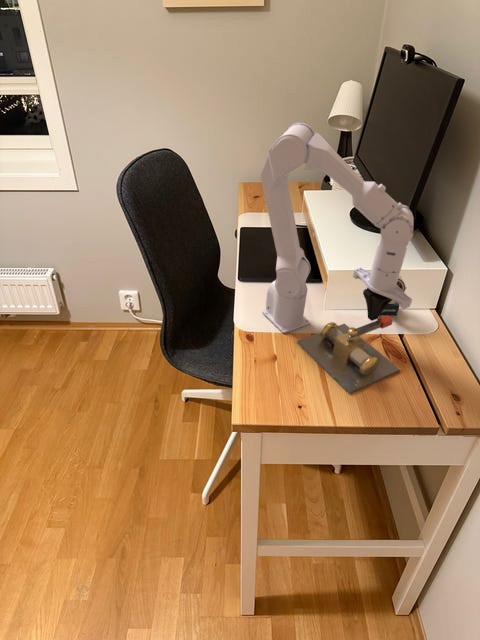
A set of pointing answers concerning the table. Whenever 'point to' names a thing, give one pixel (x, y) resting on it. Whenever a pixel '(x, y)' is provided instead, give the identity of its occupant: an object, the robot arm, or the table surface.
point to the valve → (347, 358)
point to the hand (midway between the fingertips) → (372, 318)
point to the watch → (393, 306)
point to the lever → (369, 327)
